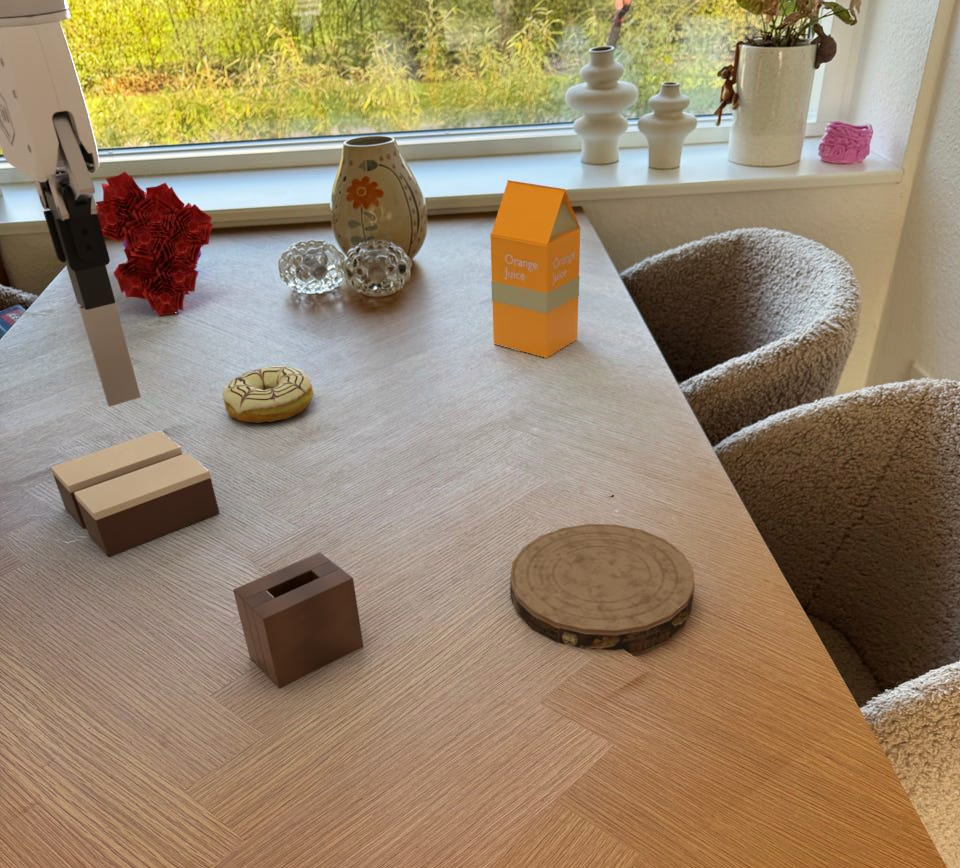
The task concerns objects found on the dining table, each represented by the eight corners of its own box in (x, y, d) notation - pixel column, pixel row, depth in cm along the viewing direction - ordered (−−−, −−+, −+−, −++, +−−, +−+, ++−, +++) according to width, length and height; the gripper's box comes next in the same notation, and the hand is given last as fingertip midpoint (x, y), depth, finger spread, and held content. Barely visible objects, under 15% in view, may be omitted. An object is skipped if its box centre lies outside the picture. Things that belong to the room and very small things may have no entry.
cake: (83, 529, 97) (67, 486, 94) (65, 508, 101) (50, 466, 97) (191, 488, 103) (180, 446, 100) (171, 470, 106) (160, 429, 103)
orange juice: (546, 358, 126) (547, 196, 113) (492, 344, 130) (487, 187, 117) (578, 339, 130) (583, 181, 118) (525, 326, 135) (524, 172, 122)
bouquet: (209, 288, 170) (233, 305, 145) (113, 304, 166) (121, 324, 140) (180, 166, 161) (200, 161, 136) (78, 179, 157) (79, 177, 131)
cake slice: (108, 557, 93) (93, 513, 90) (88, 535, 96) (73, 492, 93) (220, 513, 99) (209, 470, 96) (198, 494, 102) (187, 452, 99)
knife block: (281, 697, 76) (263, 619, 71) (251, 666, 80) (232, 589, 75) (365, 655, 80) (353, 577, 75) (333, 627, 83) (320, 551, 78)
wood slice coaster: (729, 605, 84) (734, 577, 82) (599, 685, 76) (600, 657, 74) (601, 531, 93) (602, 505, 91) (474, 596, 86) (472, 569, 84)
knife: (112, 410, 86) (50, 196, 74) (104, 402, 87) (41, 191, 76) (144, 400, 87) (88, 189, 76) (135, 392, 89) (78, 184, 77)
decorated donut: (220, 399, 120) (213, 371, 118) (303, 383, 123) (298, 355, 120) (235, 434, 112) (228, 404, 110) (323, 416, 115) (319, 386, 113)
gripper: (-74, -6, 71) (10, 249, 83) (-14, 11, 61) (72, 299, 73) (28, -15, 74) (94, 232, 86) (101, 0, 64) (165, 277, 76)
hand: (83, 260), depth 79 cm, fingers closed on knife, 2 cm apart
